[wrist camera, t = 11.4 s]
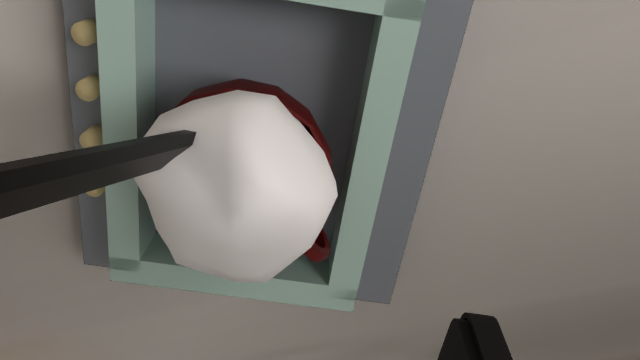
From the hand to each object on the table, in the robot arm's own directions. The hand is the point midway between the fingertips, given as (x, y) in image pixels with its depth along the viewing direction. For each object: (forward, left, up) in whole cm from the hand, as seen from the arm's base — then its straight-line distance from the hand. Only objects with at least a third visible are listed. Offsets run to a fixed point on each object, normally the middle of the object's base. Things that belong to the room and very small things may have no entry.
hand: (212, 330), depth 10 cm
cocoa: (+1, 0, -11) cm, 11 cm away
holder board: (+1, 0, -12) cm, 12 cm away
